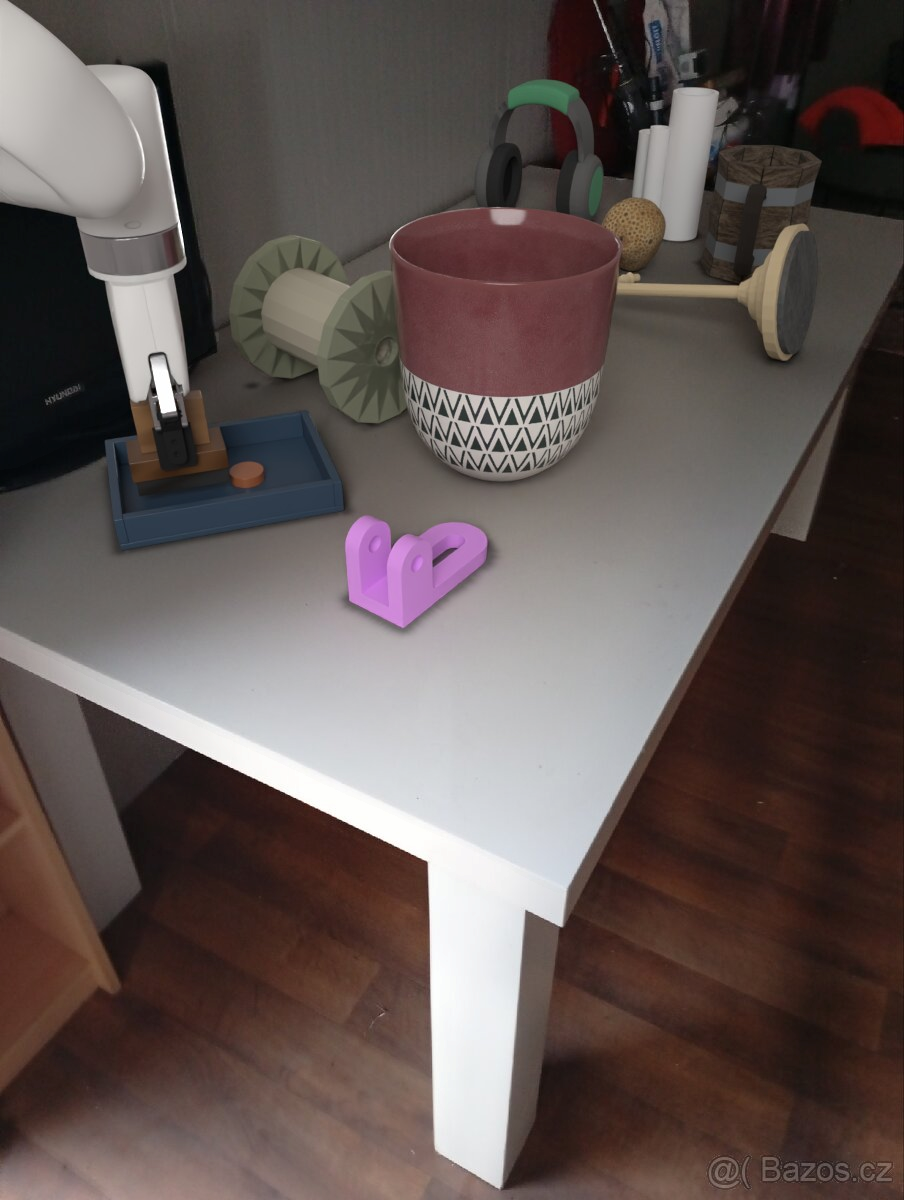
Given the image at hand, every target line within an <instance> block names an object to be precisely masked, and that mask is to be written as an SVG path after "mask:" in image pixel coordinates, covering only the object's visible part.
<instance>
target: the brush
mask: <svg viewBox="0 0 904 1200" xmlns="http://www.w3.org/2000/svg"><path fill="white" fill-rule="evenodd" d="M182 394H183V393H182ZM174 401H175V405H176V407H178V405H177V400H174ZM183 402H184V407H185V412H186V417H187V422H190V424H191V429H192V434H193V439H194V445H195V450H196V455H197V460H198V463H197V465H196V466H192V467H186V468H179V469H173V470H167V471H164V470H162V469H161V467H160V463H159V458H158V454H157V449H156V445H155V440H154V435H153V431H152V428H154V427H155V426H154V421H153V417H152V412H151V407H150V403H149V401H148V396H147V398H146V400H144V401H139V403H135V402H133V401H132V400H131V399H130V400H129V403H130V409H131V413H132V417H133V422H134V426H135V431H136V435H138V439H134V440H127V441H126V447H127V454H128V461H129V466H130V470H131V474H132V479H133V483H136V485H137V489H138V493H139V496H145V495H151V494H157V493H163V492H169V491H175V490H181V489H186V488H192V487H198V486H204V485H210V484H216V483H222V482H228V481H229V476H228V470H227V468H229V462H228V456H227V450H226V446H225V443H224V440H223V437H222V433H221V430H220V427H212V428H208V426H207V425H208V421H207V416H206V411H205V404H204V399H203V395H202V391H201V389H196V390H190V391H189V392H188V394H187V395H186V396H185V397H184V396H183ZM156 406H157V410H158V409H160V404H159V402H158V403H156ZM160 423H161V422H160Z"/></svg>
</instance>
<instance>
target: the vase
mask: <svg viewBox="0 0 904 1200" xmlns="http://www.w3.org/2000/svg"><path fill="white" fill-rule="evenodd" d="M719 97H720V92H719V91H718V90H716V89H712V88H706V87H694V86H693V87H692V86H691V87H678V88H675V89H674V90H673V92H672V98H671V106H670V114H669V121H668V125H662V124H654V125H650V128H643V129H640V130H638V138H637V139H638V140H637V148H636V156H635V166H634V174H633V182H632V190H631V198H633V197H638V198H644V199H648V200H650V201H652V202H653V203H655V204H656V205H657V207H658V208H659V209H660V210H661V212H662V214H663V215H664V218H665V222H666V228H665V234H664V238H663V240H665V241H671V242H687V241H691V240H695V239H696V238H697V235H698V230H699V229H698V228H699V224H700V223H699V222H700V217H701V210H702V204H703V198H704V191H705V185H706V178H707V174H708V173H707V172H708V167H709V159H710V155H711V154H710V153H711V147H712V142H713V141H712V140H713V136H714V135H713V134H714V128H715V122H716V115H717V108H718V103H719Z"/></svg>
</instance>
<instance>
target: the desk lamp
mask: <svg viewBox="0 0 904 1200" xmlns="http://www.w3.org/2000/svg"><path fill="white" fill-rule="evenodd" d="M818 278H819V251H818V245H817V240H816V237H815V234H814V233H813V232H812V231H810V229H809V226H808V225H807V226H806V225H805V224H803V223H802V224H797V225H791V226H788V227H786V228H785V229H784V230H783V231H782V232H781V233H780V235H779V237H778V239H777V241H776V244H775V246H774V249H773V251H771V252H770V253H769V254H768V256H767V258H766V259H765V262H764V264H763V265H761V266H760V267H758V268H756V269H755V271H754V273H753V275H752V277H751V278H749V279H748V280H746V281H744V282H741V283H740V284H739V285H733V284H732V285H731V284H729V285H728V284H727V285H726V284H689V283H687V284H685V283H644V282H643V283H641V282H640V281H641V275H640V274H639V273H632V271H627V273H626V274H625V273H624V274H621V275H619V280H618V286H617V291H616V296H632V297H633V296H635V297H663V298H665V297H667V298H672V297H673V298H696V299H697V298H698V299H727V300H729V299H731V300H737V301H738V303H739V304H741V305H743V306H744V307H746V308H747V309H748V310H747V311H748V314H749V316H750V318H751V319H753V320H754V321H756V325H757V329H758V331H759V333H761V335H762V340H763V346H764V349H765V352H766V354H767V356H768V357H770V358H771V359H774V360H778V361H782V362H783V361H788V360H790V359H791V357H792V356H793V355H796V353H798V352H799V351H800V349H801V347H802V346H803V344H804V342H805V340H806V337H807V334H808V331H809V328H810V325H811V321H812V316H813V312H814V309H815V302H816V295H817V288H818Z"/></svg>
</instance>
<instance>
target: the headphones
mask: <svg viewBox="0 0 904 1200" xmlns="http://www.w3.org/2000/svg"><path fill="white" fill-rule="evenodd" d="M527 105H537V106H538V105H539V106H545V107H548V108H552V109H555V110H556V111H559V112H560V113H562V114H563V115H564V116H567V117H568V118H569V120H570V122H571V124H572V126H573V128H574V132H575V136H576V141H577V149H573V150H570V151H569V152H568V153H567V155H566V156H565V158H564V160H563V162H562V165H561V168H560V171H559V175H558V179H557V185H556V194H555V212H559V213H564V214H569V215H573V216H577V217H580V218H584V219H587V220H590V221H592V222H593V220H594V219H595V217H596V215H597V213H598V210H599V207H600V204H601V200H602V195H603V188H604V176H605V175H604V166H603V164H602V161H601V158H599V157H598V156H597V155H596V154H594V153H595V136H594V126H593V121H592V117H591V114H590V111H589V109H588V106H587V105H586V103H585V102H584V101H583V99H582V98H581V96H580V91H579V89H577V88H576V87H574V86H572V85H570V84H569V83H566V82H564V81H560V80H555V79H543V78H542V79H533V80H529V81H526V82H523V83H521V84H519V85H517V86H515V87H513V88H511V89H510V90H509V92H508V94H507V98H506V99H504V101H502V103H501V104H500V105H499V107H498V109H497V110H496V112H495V113H494V117H493V119H492V122H491V126H490V130H489V137H488V146H486V147H485V148H484V149H483V150H482V152H481V154H480V155H479V157H478V160H477V163H476V166H475V171H474V180H473V181H474V182H473V189H474V191H473V192H474V198H475V201H476V204H477V206H478V208H496V207H506V208H516V206H517V203H518V200H519V197H520V193H521V189H522V182H523V158H522V152H521V149H520V147H519V146H518V145H517V144H515V143H513V142H506V139H507V131H508V128H509V127H508V126H509V123H510V120H511V117H512V115H513V113H514V111H515V109H517V108H519V107H522V106H527Z"/></svg>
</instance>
